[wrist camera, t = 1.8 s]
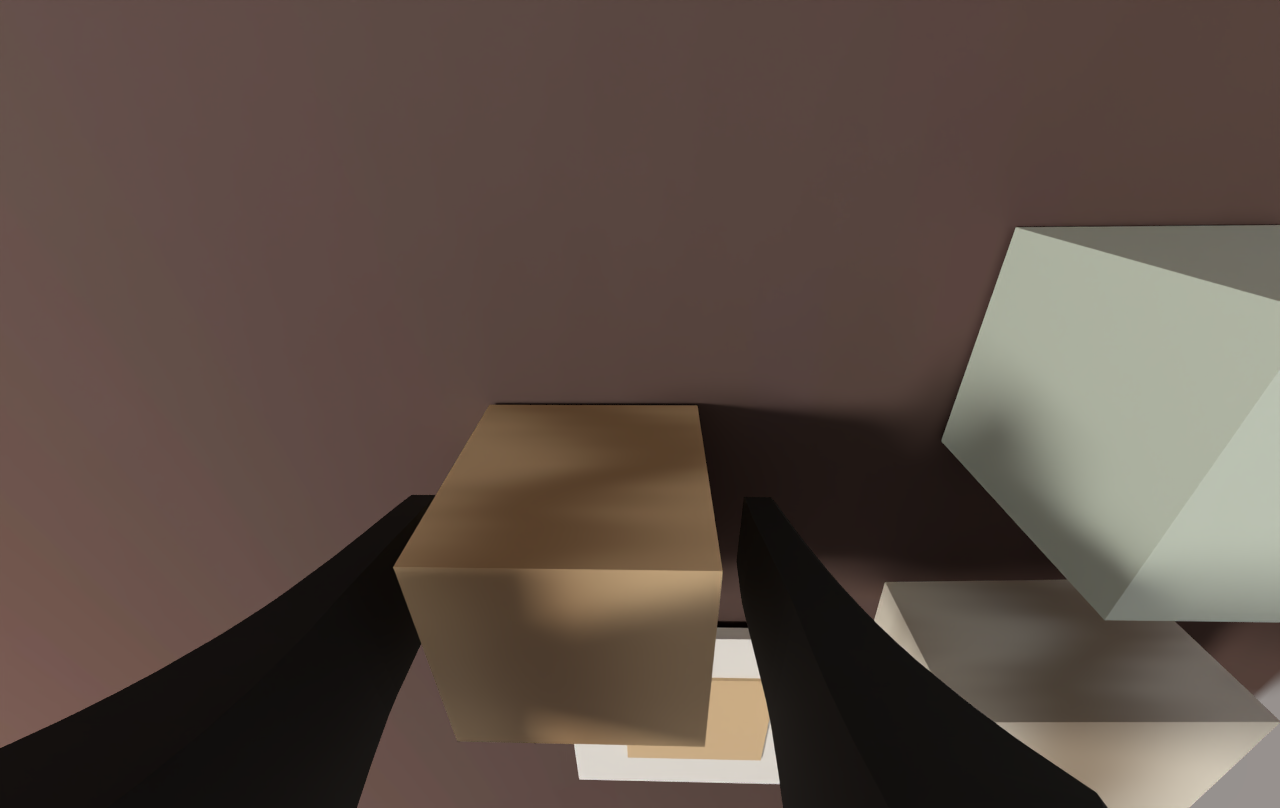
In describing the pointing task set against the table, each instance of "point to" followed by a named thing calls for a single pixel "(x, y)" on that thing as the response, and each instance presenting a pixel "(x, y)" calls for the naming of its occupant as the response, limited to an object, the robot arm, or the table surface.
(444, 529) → the oak cube
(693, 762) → the card
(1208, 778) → the base block
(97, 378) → the table surface
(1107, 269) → the sage cube
